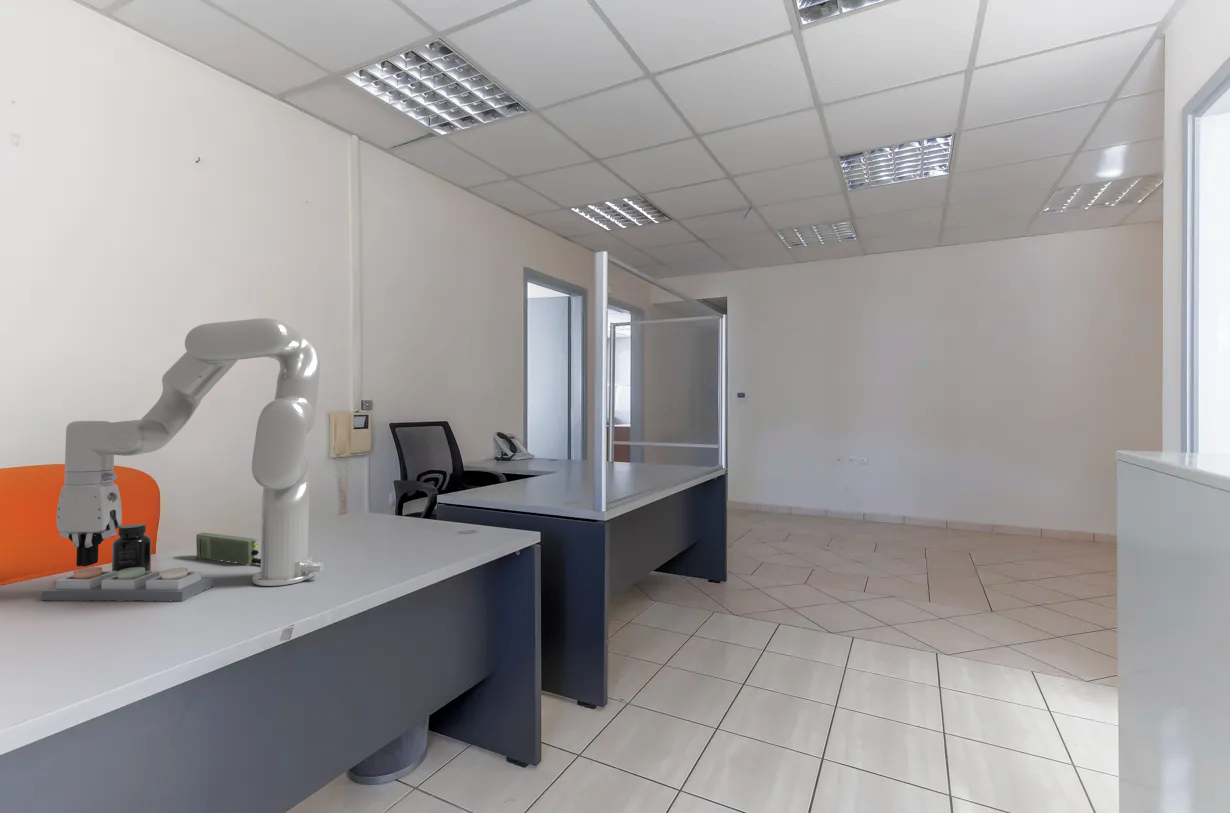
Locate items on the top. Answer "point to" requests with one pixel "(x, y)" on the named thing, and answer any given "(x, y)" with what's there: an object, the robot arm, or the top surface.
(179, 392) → the robot arm
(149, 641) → the top surface
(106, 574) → the button panel
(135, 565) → the supplement bottle
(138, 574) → the sage button
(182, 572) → the cream button
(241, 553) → the handheld radio
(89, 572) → the terracotta button
